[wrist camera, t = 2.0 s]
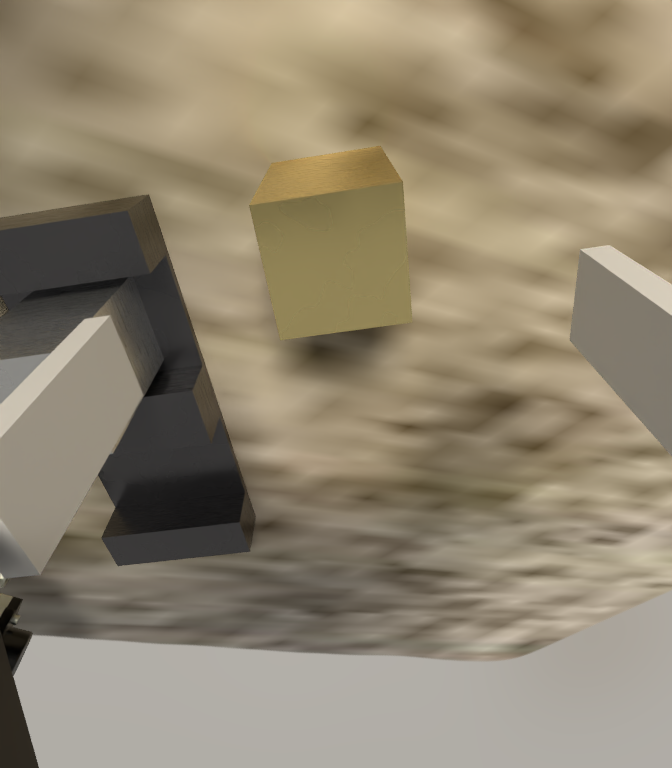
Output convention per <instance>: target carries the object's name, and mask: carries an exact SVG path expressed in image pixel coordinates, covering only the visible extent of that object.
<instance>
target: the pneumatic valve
mask: <svg viewBox="0 0 672 768" xmlns="http://www.w3.org/2000/svg"><path fill="white" fill-rule="evenodd" d="M9 579H10V578H6V579H4V577H3V576H2V575H1V573H0V588H3V587H4V586H5V585H6V583H7V582H8V580H9ZM22 600H23V599H20V598H16V597H12V596H9V595H5V594H1V593H0V632H1V635H2V639H3V642H4V646H5V649H6V653H7V656H8V660H9V664H10V667H11V671H12V674H13V676H14V674H15V672H16V670H17V668H18V665H19V663H20V661H21V659H22V657H23V655H24V653H25V651H26V648H27V646H28V644H29V642H30V639H31V637H32V634H33V633H32V632H30V631H26V630H22V629H18V628H14V627H13V625H16V624H17V622H18V620H19V618H20V615H17V614H18V611H19V608H20V606H21V603H22Z"/></svg>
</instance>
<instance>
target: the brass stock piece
mask: <svg viewBox="0 0 672 768" xmlns="http://www.w3.org/2000/svg"><path fill="white" fill-rule="evenodd" d="M249 206H250V211H251V215H252V219H253V224H254V228H255V232H256V237H257V241H258V246H259V250H260V254H261V259H262V263H263V267H264V272H265V276H266V280H267V285H268V289H269V293H270V298H271V302H272V307H273V311H274V315H275V320H276V324H277V328H278V333H279V337H280V340H286V339H294V338H301V337H308V336H316V335H323V334H330V333H338V332H345V331H353V330H360V329H367V328H375V327H382V326H389V325H397V324H404V323H411V322H412V311H411V296H410V281H409V266H408V251H407V237H406V222H405V207H404V192H403V181H402V180H401V178H400V176H399V175H398V173H397V172H396V170H395V169H394V167H393V165H392V164H391V162H390V161H389V159H388V157H387V156H386V154H385V153H384V151H383V149H382V148H381V146H376V147H370V148H364V149H357V150H351V151H345V152H339V153H332V154H326V155H320V156H313V157H307V158H301V159H295V160H288V161H282V162H276V163H272V164H271V165H270V167H269V169H268V171H267V173H266V175H265V177H264V179H263V180H262V182H261V184H260V186H259V188H258V190H257V192H256V194H255V195H254V197H253V199H252V201H251V203H250V205H249Z"/></svg>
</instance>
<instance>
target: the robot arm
mask: <svg viewBox="0 0 672 768" xmlns="http://www.w3.org/2000/svg"><path fill="white" fill-rule="evenodd" d="M570 341H571V342H572V344H573V345H574V346H575V347H576V348H577V349H578V350H579V351H580V353H581V354H582V355H583V356H584V357H585V358H586V359H587V361H588V362H589V363H590V364H591V365H592V366H593V367H594V368H595V370H596V371H597V372H598V373H599V374H600V375H601V376H602V378H603V379H604V380H605V381H606V382H607V383H608V384H609V385H610V387H611V388H612V389H613V390H614V391H615V392H616V393H617V395H618V396H619V397H620V398H621V399H622V400H623V401H624V402H625V404H626V405H627V406H628V407H629V408H630V409H631V410H632V412H633V413H634V414H635V415H636V416H637V417H638V418H639V419H640V421H641V422H642V423H643V424H644V425H645V426H646V427H647V429H648V430H649V431H650V432H651V433H652V434H653V435H654V436H655V438H656V439H657V440H658V441H659V442H660V443H661V444H662V446H663V447H664V448H665V449H666V450H667V451H668V452H669V453H670V455H671V456H672V284H670V283H669V282H667V281H665V280H664V279H662V278H661V277H659V276H657V275H656V274H654V273H653V272H651V271H650V270H648V269H646V268H645V267H643V266H642V265H640V264H638V263H637V262H635V261H634V260H632V259H630V258H629V257H627V256H626V255H624V254H623V253H621V252H619V251H618V250H616V249H615V248H613V247H611V246H610V245H607V246H600V247H593V248H586V249H580V255H579V263H578V272H577V281H576V289H575V298H574V307H573V315H572V324H571V333H570ZM142 397H143V393H142V391H141V388H140V386H139V383H138V381H137V378H136V376H135V374H134V371H133V369H132V366H131V364H130V362H129V359H128V357H127V354H126V352H125V350H124V347H123V345H122V342H121V340H120V338H119V335H118V333H117V330H116V328H115V326H114V323H113V321H112V318H111V316H110V315H109V316H102V317H95V318H87V319H84V320H83V321H82V322H81V323H80V324H79V325H78V326H77V327H76V328H75V329H74V330H73V331H72V332H71V333H70V334H69V335H68V336H67V337H66V338H65V339H64V340H63V341H62V342H61V343H60V344H59V345H58V346H57V347H56V348H55V350H54V351H53V352H52V353H51V354H50V355H49V356H48V357H47V358H46V359H45V360H44V361H43V362H42V363H41V364H40V365H39V366H38V367H37V368H36V369H35V370H34V371H33V372H32V373H31V374H30V375H29V376H28V377H27V378H26V379H25V380H24V381H23V382H22V383H21V384H20V385H19V386H18V387H17V388H16V389H15V390H14V391H13V392H12V393H11V394H10V395H9V396H8V397H7V398H6V399H5V400H4V401H3V402H2V403H1V404H0V573H1V575H2V576H3V577H4V579H6V578H16V577H25V576H35V575H41V573H42V571H43V569H44V568H45V566H46V564H47V562H48V561H49V559H50V557H51V555H52V554H53V552H54V550H55V548H56V547H57V545H58V543H59V541H60V540H61V538H62V536H63V534H64V533H65V531H66V529H67V528H68V526H69V524H70V522H71V521H72V519H73V517H74V515H75V514H76V512H77V510H78V508H79V507H80V505H81V503H82V501H83V500H84V498H85V496H86V494H87V493H88V491H89V489H90V487H91V486H92V484H93V482H94V480H95V479H96V477H97V475H98V473H99V472H100V470H101V468H102V466H103V465H104V463H105V461H106V459H107V458H108V456H109V454H110V453H111V451H112V449H113V447H114V446H115V444H116V442H117V440H118V439H119V437H120V435H121V433H122V432H123V430H124V428H125V426H126V425H127V423H128V421H129V419H130V418H131V416H132V414H133V412H134V411H135V409H136V407H137V405H138V404H139V402H140V400H141V398H142ZM0 768H39V767H38V763H37V759H36V756H35V752H34V749H33V745H32V742H31V738H30V734H29V731H28V727H27V724H26V720H25V717H24V713H23V710H22V706H21V703H20V699H19V696H18V692H17V689H16V685H15V681H14V678H13V674H12V671H11V667H10V664H9V660H8V656H7V653H6V649H5V646H4V642H3V639H2V635H1V632H0Z"/></svg>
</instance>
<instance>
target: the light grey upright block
mask: <svg viewBox="0 0 672 768" xmlns="http://www.w3.org/2000/svg"><path fill="white" fill-rule="evenodd" d="M109 315H110V316H111V318H112V321H113V323H114V326H115V328H116V330H117V333H118V335H119V338H120V340H121V342H122V345H123V347H124V350H125V352H126V354H127V357H128V359H129V362H130V364H131V366H132V369H133V371H134V374H135V376H136V378H137V381H138V383H139V386H140V388H141V391H142V393H143V397H144V395H145V394H146V392H147V390H148V388H149V386H150V384H151V382H152V381H153V379H154V377H155V375H156V373H157V371H158V370H159V368H160V366H161V364H162V362H163V360H164V358H163V355H162V352H161V350H160V347H159V344H158V342H157V339H156V337H155V334H154V331H153V329H152V326H151V323H150V321H149V318H148V316H147V313H146V310H145V308H144V305H143V302H142V300H141V297H140V295H139V292H138V289H137V287H136V284H135V281H134V279H133V276H132V277H125V278H118V279H111V280H104V281H98V282H91V283H84V284H77V285H70V286H64V287H57V288H50V289H43V290H36V291H33V292H32V293H30V294H29V295H28V296H27V297H25V298H24V299H23V300H21V301H20V302H19V303H18V304H16V305H15V306H14V307H13V308H11V309H10V310H9V311H8V312H6V313H5V314H4V315H3V316H1V317H0V404H1V403H2V402H3V401H4V400H5V399H6V398H7V397H8V396H9V395H10V394H11V393H12V392H13V391H14V390H15V389H16V388H17V387H18V386H19V385H20V384H21V383H22V382H23V381H24V380H25V379H26V378H27V377H28V376H29V375H30V374H31V373H32V372H33V371H34V370H35V369H36V368H37V367H38V366H39V365H40V364H41V363H42V362H43V361H44V360H45V359H46V358H47V357H48V356H49V355H50V354H51V353H52V352H53V351H54V350H55V348H56V347H57V346H58V345H59V344H60V343H61V342H62V341H63V340H64V339H65V338H66V337H67V336H68V335H69V334H70V333H71V332H72V331H73V330H74V329H75V328H76V327H77V326H78V325H79V324H80V323H81V322H82V321H83V320H84V319H87V318H95V317H102V316H109ZM143 397H142V398H141V400H140V402H139V404H138V405H137V407H136V409H135V411H134V412H133V414H132V416H131V418H130V419H129V421H128V423H127V425H126V426H125V428H124V430H123V432H122V433H121V435H120V437H119V439H118V440H117V442H116V444H115V446H114V447H113V449H112V451H111V453H110V454H113V453H114V451H115V449H116V447H117V445H118V444H119V442H120V440H121V438H122V436H123V434H124V432H125V431H126V429H127V427H128V425H129V423H130V421H131V419H132V418H133V416H134V414H135V412H136V410H137V408H138V407H139V405H140V403H141V401H142V399H143Z"/></svg>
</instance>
